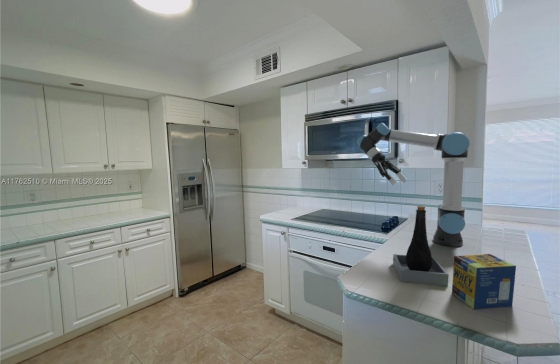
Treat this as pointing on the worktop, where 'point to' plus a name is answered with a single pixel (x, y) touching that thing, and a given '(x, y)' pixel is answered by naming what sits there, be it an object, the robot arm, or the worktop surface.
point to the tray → (420, 272)
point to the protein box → (483, 281)
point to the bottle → (419, 245)
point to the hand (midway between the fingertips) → (400, 182)
